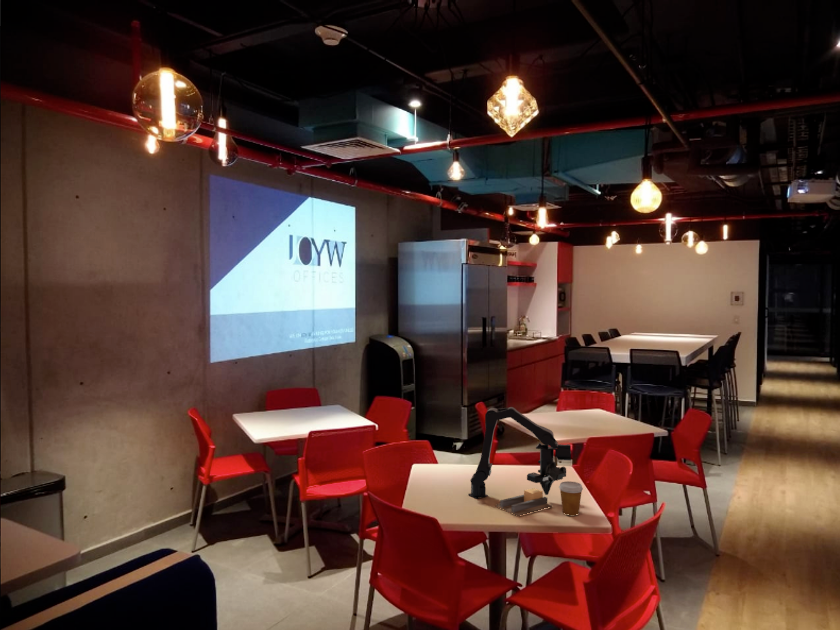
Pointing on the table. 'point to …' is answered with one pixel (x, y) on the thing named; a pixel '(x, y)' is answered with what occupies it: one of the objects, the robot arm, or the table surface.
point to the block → (532, 494)
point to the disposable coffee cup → (570, 497)
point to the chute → (523, 505)
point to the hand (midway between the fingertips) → (546, 494)
